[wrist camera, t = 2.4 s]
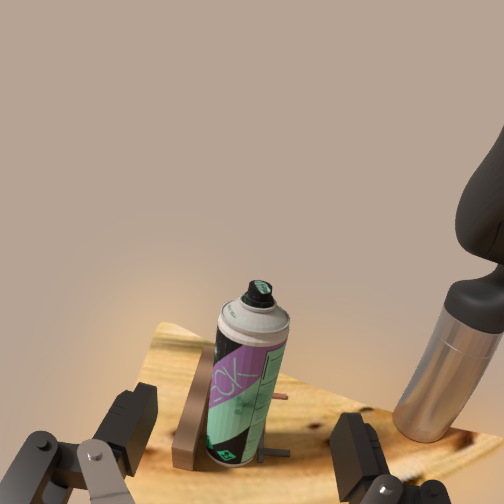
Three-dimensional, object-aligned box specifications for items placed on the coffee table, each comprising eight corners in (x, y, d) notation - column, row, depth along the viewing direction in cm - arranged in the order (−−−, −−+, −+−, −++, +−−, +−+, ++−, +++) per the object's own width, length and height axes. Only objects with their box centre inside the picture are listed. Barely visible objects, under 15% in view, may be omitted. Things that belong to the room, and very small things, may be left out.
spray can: (226, 423, 31) (251, 265, 25) (265, 446, 28) (310, 287, 22) (195, 448, 26) (206, 280, 21) (235, 476, 23) (274, 310, 18)
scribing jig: (202, 367, 40) (204, 345, 39) (284, 379, 40) (290, 358, 39) (173, 466, 23) (171, 446, 22) (290, 482, 23) (300, 463, 22)
